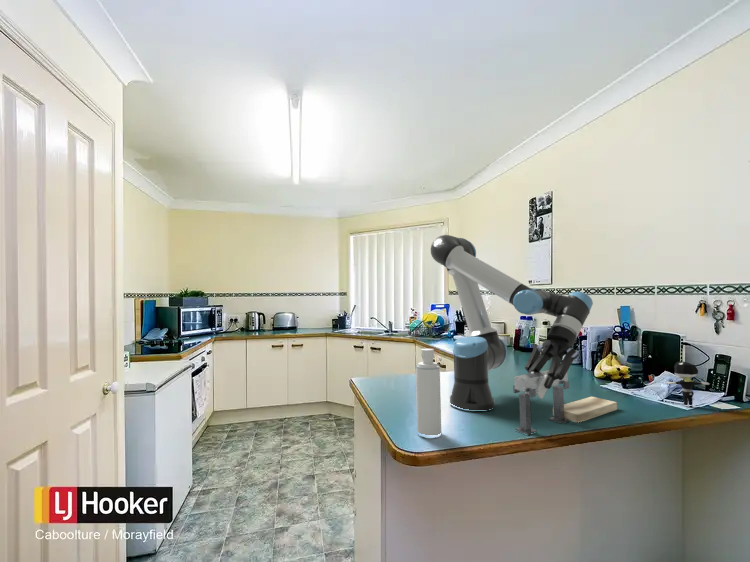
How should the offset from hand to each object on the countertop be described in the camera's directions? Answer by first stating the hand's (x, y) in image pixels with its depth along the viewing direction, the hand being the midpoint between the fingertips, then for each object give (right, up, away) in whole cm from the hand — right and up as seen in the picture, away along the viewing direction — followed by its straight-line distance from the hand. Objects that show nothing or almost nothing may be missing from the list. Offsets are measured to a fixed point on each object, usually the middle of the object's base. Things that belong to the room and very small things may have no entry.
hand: (532, 394), depth 97 cm
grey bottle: (-30, -10, -3) cm, 32 cm away
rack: (+4, -10, +2) cm, 11 cm away
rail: (+4, +2, +3) cm, 5 cm away
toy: (+61, -10, +18) cm, 64 cm away
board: (+24, -10, +13) cm, 29 cm away
